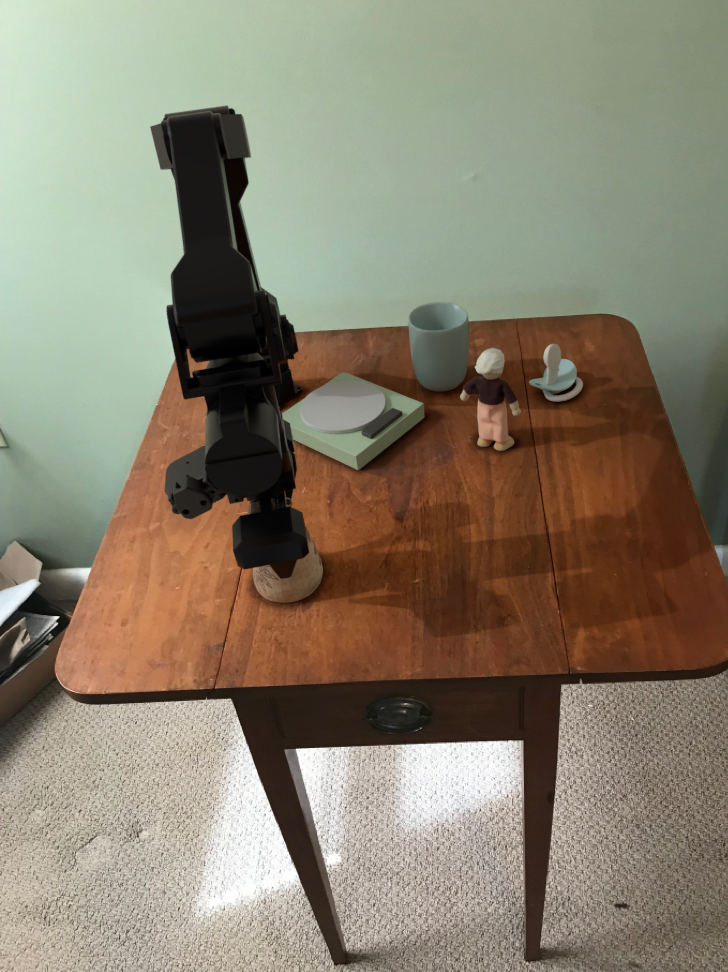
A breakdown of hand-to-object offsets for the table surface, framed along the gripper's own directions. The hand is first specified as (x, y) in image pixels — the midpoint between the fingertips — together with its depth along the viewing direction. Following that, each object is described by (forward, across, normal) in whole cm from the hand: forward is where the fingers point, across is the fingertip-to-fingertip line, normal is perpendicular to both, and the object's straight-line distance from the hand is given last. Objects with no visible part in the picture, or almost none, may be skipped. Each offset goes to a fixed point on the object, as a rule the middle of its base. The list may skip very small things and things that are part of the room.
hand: (283, 552), depth 77 cm
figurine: (+4, 0, 0) cm, 5 cm away
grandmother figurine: (+4, -17, +26) cm, 32 cm away
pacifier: (+4, -26, +38) cm, 46 cm away
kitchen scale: (+4, -26, +10) cm, 28 cm away
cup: (+4, -32, +23) cm, 40 cm away
